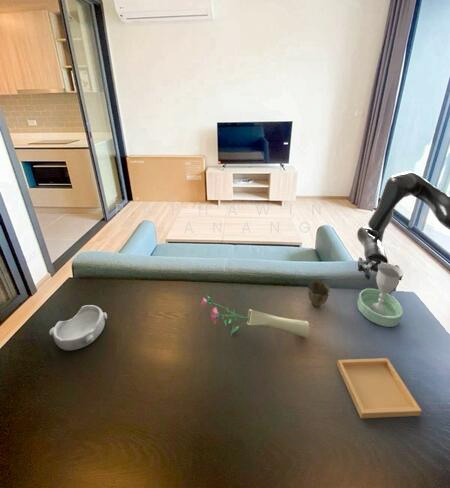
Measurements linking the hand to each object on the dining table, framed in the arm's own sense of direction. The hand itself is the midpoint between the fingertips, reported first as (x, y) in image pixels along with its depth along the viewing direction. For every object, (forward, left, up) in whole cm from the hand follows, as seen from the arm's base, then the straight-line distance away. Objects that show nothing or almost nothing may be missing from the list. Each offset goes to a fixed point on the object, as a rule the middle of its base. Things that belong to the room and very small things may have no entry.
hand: (382, 280), depth 88 cm
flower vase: (+48, +10, -11) cm, 50 cm away
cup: (+23, 0, -11) cm, 25 cm away
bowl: (+2, +4, -11) cm, 11 cm away
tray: (+18, +28, -11) cm, 35 cm away
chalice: (+2, +4, -10) cm, 11 cm away
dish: (+104, +9, -11) cm, 105 cm away
